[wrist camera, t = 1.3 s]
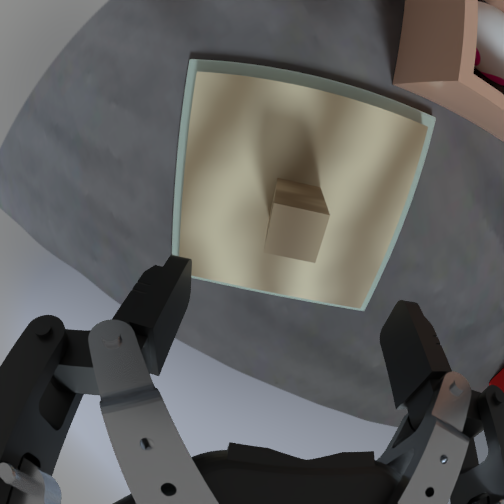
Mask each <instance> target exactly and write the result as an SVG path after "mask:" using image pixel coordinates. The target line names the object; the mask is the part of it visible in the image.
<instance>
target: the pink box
mask: <svg viewBox="0 0 504 504" xmlns="http://www.w3.org/2000/svg"><path fill="white" fill-rule="evenodd" d="M484 1H486V2H487V3H488V4H490V5H492V6H494V7H496V8H497V9H499V10H501V11H502V12H503V13H504V0H484ZM477 27H478V0H405V6H404V15H403V23H402V31H401V38H400V44H399V51H398V57H397V63H396V68H395V74H394V79H393V84H392V85H395V86H397V87H400V88H402V89H405V90H407V91H410V92H412V93H414V94H417V95H419V96H421V97H424V98H426V99H428V100H430V101H432V102H434V103H436V104H438V105H440V106H442V107H444V108H446V109H448V110H450V111H452V112H454V113H456V114H458V115H460V116H462V117H463V118H465V119H467V120H469V121H471V122H472V123H474V124H476V125H477V126H479V127H481V128H482V129H484V130H486V131H487V132H489V133H490V134H492V135H493V136H495V137H497V138H498V139H500V140H501V141H503V142H504V95H503V94H502V93H501V92H499V91H498V90H497V89H495V88H494V87H492V86H491V85H489V84H488V83H487V82H485V81H484V80H482V79H481V78H479V77H478V76H476V75H474V74H473V72H474V64H475V55H476V44H477Z"/></svg>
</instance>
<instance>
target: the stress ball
mask: <svg viewBox="0 0 504 504" xmlns="http://www.w3.org/2000/svg"><path fill="white" fill-rule="evenodd" d="M474 67H475V68H477V69H478V70H479V71H480V72H481V73H482V74H483V75H485V76H486V77H487V78H489V79H490V80H492V81H494V82H495V83H498V84H500V85H503V86H504V13H503V12H502V11H501V10H499V9H497V8H496V7H494V6H492V5H490V4H487V3H484V2H479V1H478V27H477V44H476V55H475V64H474Z"/></svg>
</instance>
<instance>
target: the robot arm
mask: <svg viewBox="0 0 504 504" xmlns="http://www.w3.org/2000/svg"><path fill="white" fill-rule="evenodd" d="M191 273H192V260H191V259H189V258H184V257H180V256H175V255H171V256H170V257H169V258H168V260H167V261H166V263H165V265H164V266H163V267H161V266H157V265H155V266H153V267H151V268H150V269H148V270H147V271H145V272H144V273H143V274H142V276H141V277H140V279H139V280H138V283H136V284H135V286H134V287H133V290H132V291H131V292H130V293H129V295H128V296H127V298H126V299H125V301H124V302H123V304H122V305H121V307H120V308H119V310H118V311H117V313H116V314H115V316H114V317H113V319H112V320H106V321H102V322H100V323H99V324H97V325H95V326H94V327H93V328H92V330H91V331H82V330H68V329H65V327H64V325H63V322H62V321H61V320H60V319H59V318H58V317H55V316H52V315H44V316H40V317H38V318H36V319H34V320H33V321H31V322H30V323H29V325H28V326H27V328H26V329H25V330H24V332H23V333H22V335H21V336H20V338H19V339H18V340H17V342H16V343H15V345H14V346H13V348H12V349H11V351H10V352H9V354H8V355H7V357H6V359H5V360H4V362H3V363H2V365H1V366H0V504H61V490H60V487H59V485H58V483H57V482H56V481H55V479H54V478H53V477H52V474H53V471H54V468H55V465H56V462H57V459H58V457H59V453H60V450H61V448H62V446H63V443H64V440H65V438H66V435H67V433H68V430H69V428H70V425H71V423H72V420H73V418H74V415H75V413H76V411H77V408H78V406H79V404H80V401H81V399H82V396H83V395H84V394H92V395H100V397H101V401H100V408H101V411H102V415H103V419H104V422H105V425H106V428H107V432H108V435H109V438H110V441H111V443H112V447H113V449H114V452H115V455H116V458H117V460H118V463H119V465H120V468H121V470H122V473H123V475H124V478H125V480H126V482H127V485H128V487H129V489H130V491H131V494H130V495H128V496H126V497H124V498H123V499H121V500H119V501H117V502H115V503H113V504H447V503H448V501H449V498H450V501H451V504H504V392H503V391H502V390H501V389H500V388H499V387H498V386H495V385H490V386H488V387H487V388H486V389H485V390H484V391H483V392H482V393H480V392H477V391H473V390H471V387H470V385H469V383H468V381H467V380H466V378H465V377H464V376H462V375H461V374H459V373H457V372H452V370H451V368H450V365H449V363H448V360H447V358H446V356H445V353H444V351H443V348H442V346H441V345H440V341H439V339H438V337H436V336H437V335H436V333H435V330H434V328H433V326H432V325H431V323H430V322H429V321H428V320H427V319H426V318H425V316H424V315H423V313H422V311H421V309H420V307H419V305H418V304H417V303H415V302H409V301H403V300H400V301H398V302H397V304H396V305H395V307H394V309H393V310H392V312H391V314H390V316H389V317H388V319H387V321H386V323H385V324H384V326H383V328H382V330H381V333H380V344H381V348H382V351H383V355H384V359H385V363H386V367H387V371H388V375H389V380H390V384H391V388H392V393H393V397H394V402H395V407H396V409H408V413H407V414H406V415H405V416H404V418H403V419H402V421H401V423H400V425H399V427H398V429H397V431H396V433H395V435H394V437H393V438H392V440H391V442H390V443H389V445H388V447H387V449H386V451H385V452H384V453H383V454H382V456H381V457H380V458H378V460H376V461H375V460H374V452H373V451H371V452H342V453H338V454H334V455H330V456H325V457H321V458H316V459H311V460H304V459H300V458H297V457H293V456H290V455H287V454H284V453H281V452H278V451H275V450H272V449H269V448H263V447H255V446H248V445H242V444H236V443H229V446H228V449H227V450H220V451H213V452H207V453H203V454H199V455H196V456H194V457H191V456H190V454H189V452H188V450H187V449H186V447H185V445H184V443H183V441H182V439H181V437H180V435H179V433H178V431H177V429H176V427H175V425H174V423H173V421H172V419H171V416H170V414H169V412H168V410H167V408H166V405H165V403H164V401H163V399H162V397H161V395H160V392H159V391H158V389H157V388H155V386H154V384H153V382H152V380H151V377H150V373H151V374H154V375H157V376H159V374H160V372H161V369H162V367H163V365H164V362H165V359H166V357H167V355H168V352H169V350H170V347H171V345H172V342H173V340H174V338H175V335H176V333H177V331H178V328H179V326H180V323H181V321H182V319H183V316H184V314H185V312H186V309H187V307H188V303H189V299H190V292H191ZM483 430H484V432H485V436H486V441H487V445H488V456H487V458H486V460H485V461H484V462H482V463H481V464H478V458H477V452H476V447H475V442H474V437H475V436H476V435H478V434H479V433H480V432H482V431H483Z"/></svg>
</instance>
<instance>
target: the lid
mask: <svg viewBox="0 0 504 504" xmlns="http://www.w3.org/2000/svg"><path fill="white" fill-rule="evenodd" d="M427 130H428V127H427V126H425V125H423V124H420V123H418V122H416V121H413V120H411V119H408V118H406V117H403V116H401V115H398V114H395V113H393V112H390V111H387V110H384V109H382V108H379V107H376V106H373V105H370V104H367V103H364V102H361V101H357V100H354V99H351V98H347V97H344V96H340V95H337V94H333V93H329V92H325V91H321V90H317V89H313V88H309V87H304V86H300V85H295V84H290V83H285V82H280V81H274V80H268V79H262V78H255V77H248V76H241V75H232V74H223V73H211V72H197V74H196V80H195V86H194V93H193V100H192V108H191V115H190V123H189V131H188V140H187V150H186V159H185V170H184V182H183V195H182V209H181V226H180V248H179V256H180V257H184V258H189V259H191V260H192V273H191V276H196V277H200V278H205V279H210V280H214V281H219V282H223V283H228V284H233V285H238V286H242V287H247V288H252V289H257V290H262V291H267V292H272V293H277V294H282V295H288V296H293V297H298V298H303V299H309V300H314V301H320V302H325V303H331V304H337V305H342V306H348V307H354V308H361V306H362V304H363V302H364V300H365V298H366V296H367V294H368V292H369V290H370V288H371V286H372V283H373V281H374V279H375V277H376V275H377V272H378V270H379V268H380V266H381V263H382V261H383V259H384V256H385V254H386V252H387V249H388V247H389V244H390V242H391V240H392V237H393V235H394V232H395V229H396V227H397V224H398V222H399V219H400V216H401V214H402V211H403V208H404V205H405V202H406V200H407V197H408V194H409V191H410V188H411V185H412V182H413V179H414V175H415V172H416V169H417V166H418V162H419V159H420V156H421V152H422V149H423V145H424V141H425V137H426V134H427Z"/></svg>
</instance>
